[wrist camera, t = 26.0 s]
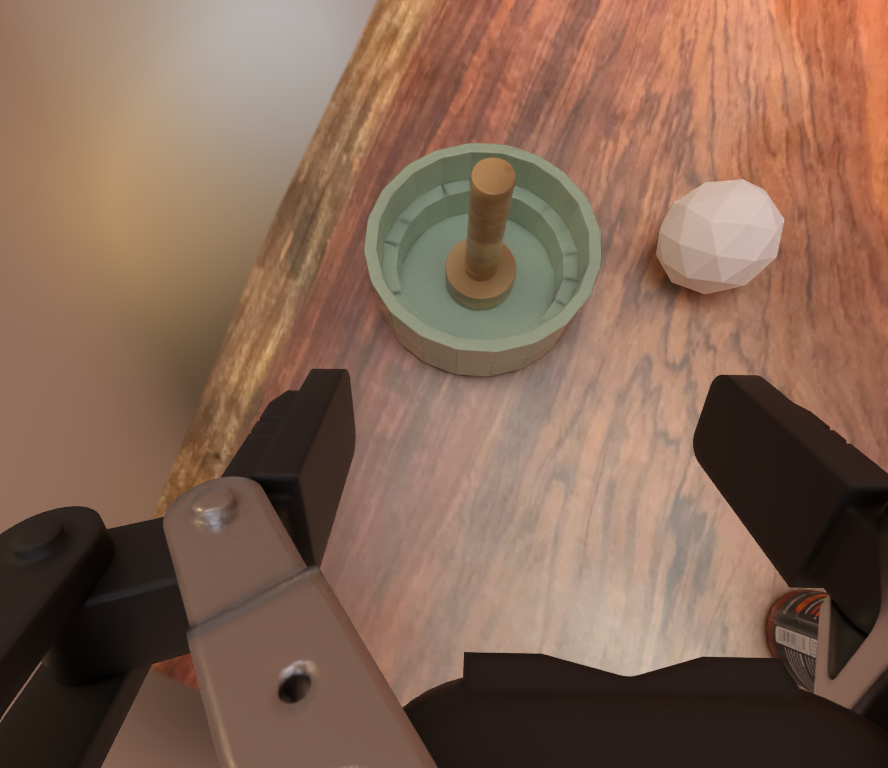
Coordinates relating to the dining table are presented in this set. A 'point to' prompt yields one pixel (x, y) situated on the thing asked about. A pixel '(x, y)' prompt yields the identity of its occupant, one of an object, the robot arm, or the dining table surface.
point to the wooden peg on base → (484, 240)
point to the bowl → (445, 224)
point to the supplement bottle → (796, 633)
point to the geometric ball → (719, 236)
